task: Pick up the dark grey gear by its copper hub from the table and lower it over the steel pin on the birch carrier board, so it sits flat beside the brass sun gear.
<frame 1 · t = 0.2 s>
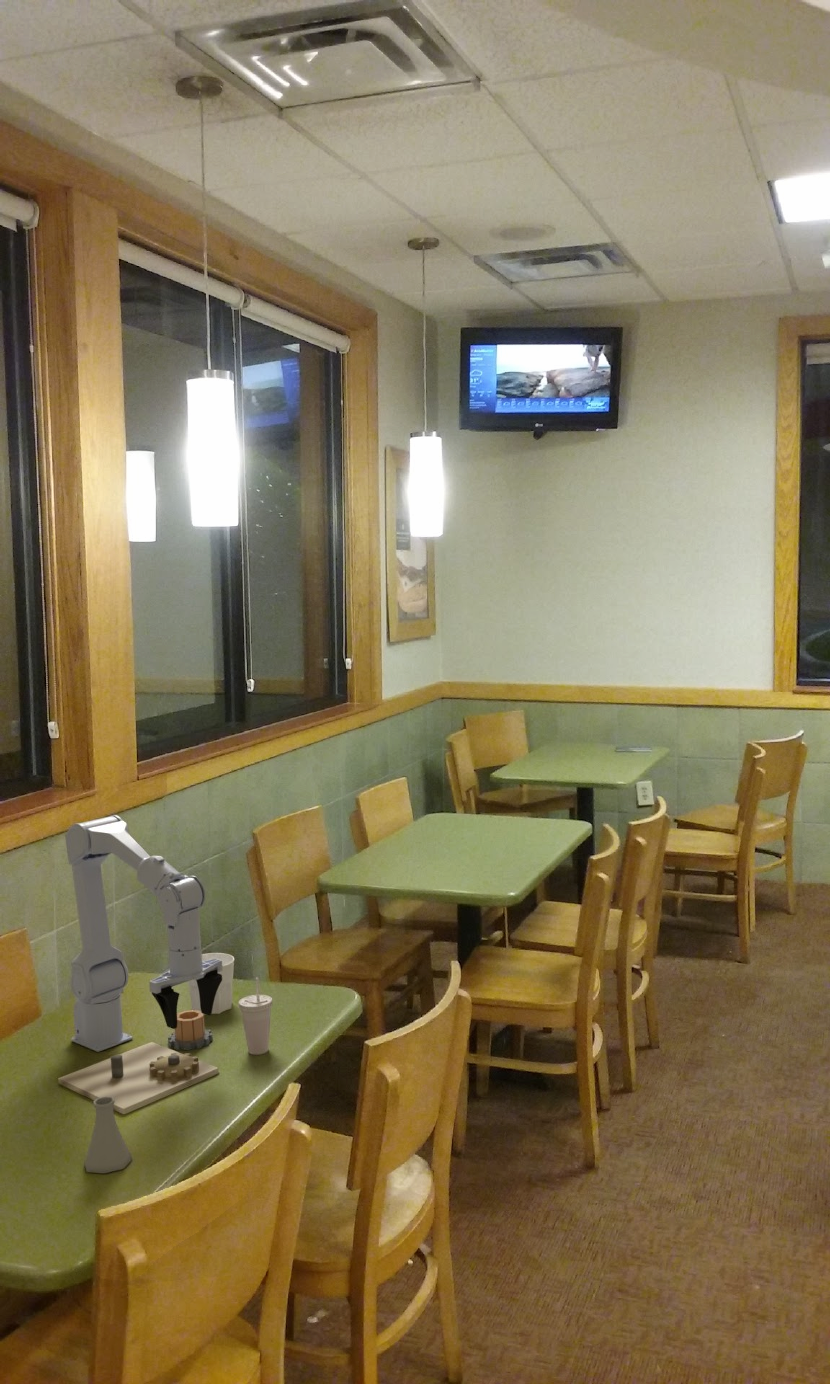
hand: (189, 1020, 211), 10 cm above the table, tool pointing down, fingers open, 7 cm apart
carrier: (139, 1078, 211), on the table
planet gear: (190, 1041, 227), on the table
cup: (212, 1008, 245), on the table
flask: (108, 1164, 181), on the table
smoothie: (258, 1051, 221), on the table
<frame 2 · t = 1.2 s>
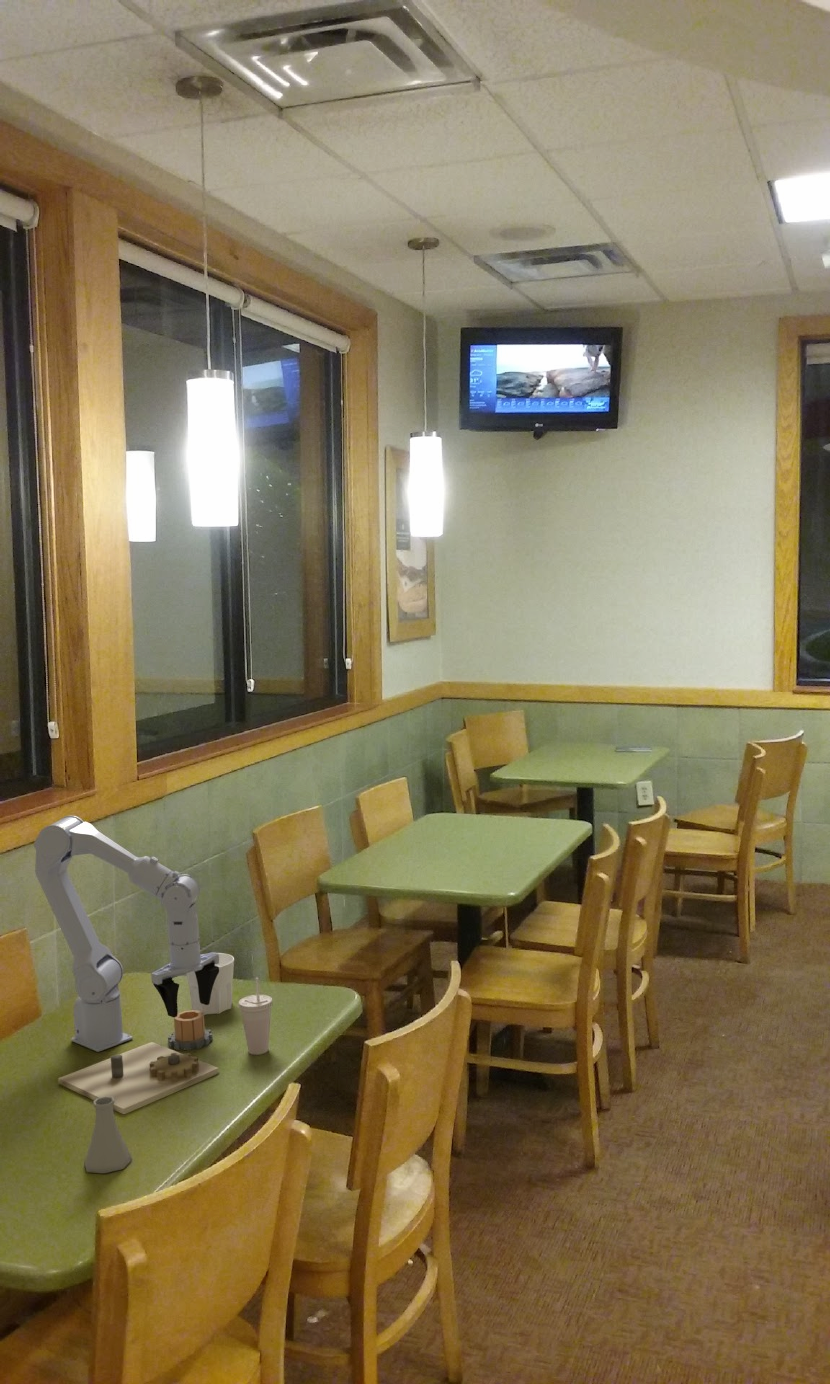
hand: (188, 1009, 226), 6 cm above the table, tool pointing down, fingers open, 7 cm apart
nothing on the table moved.
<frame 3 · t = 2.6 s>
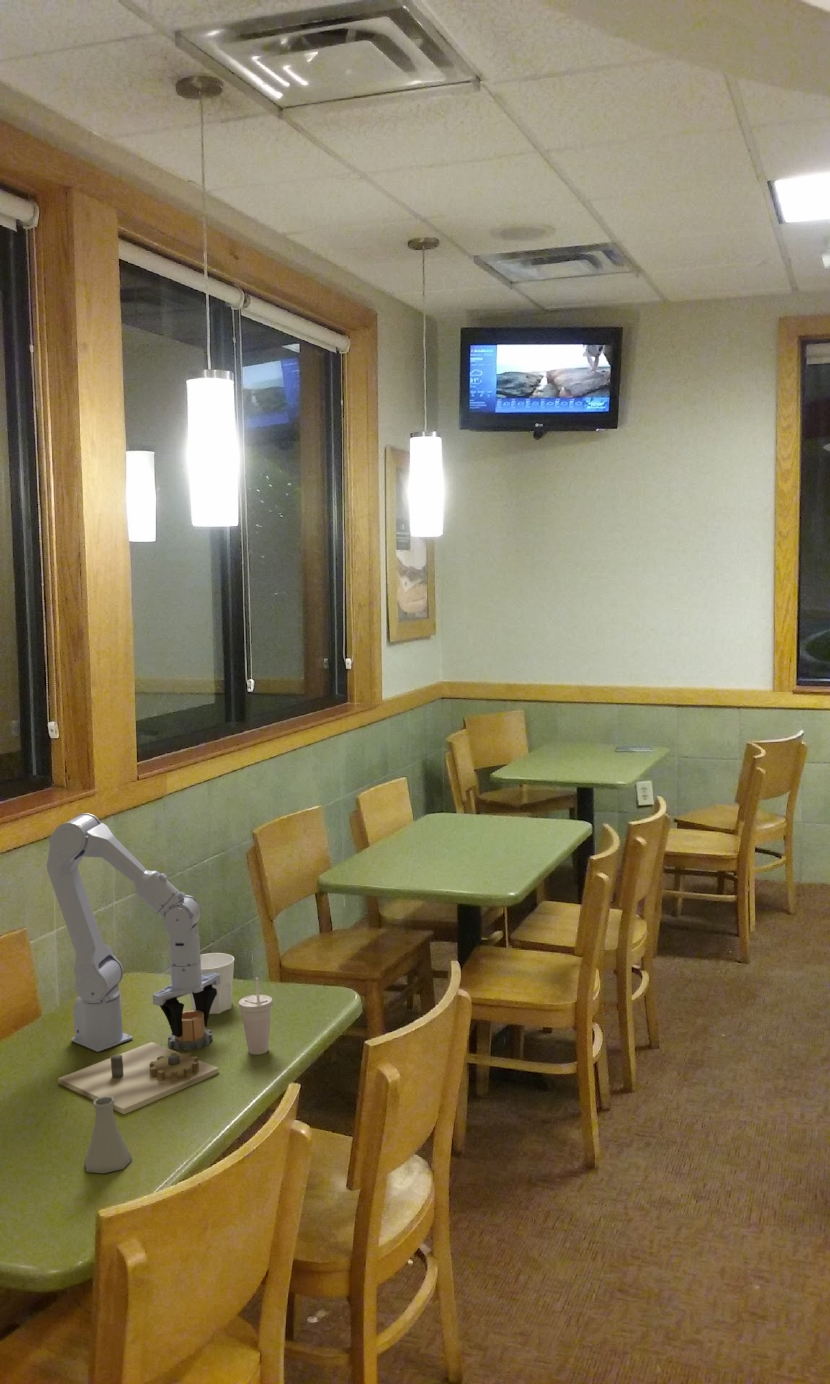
hand: (189, 1030, 227), 2 cm above the table, tool pointing down, fingers closed on planet gear, 5 cm apart
planet gear: (190, 1041, 227), on the table, touching gripper
everything else where it was.
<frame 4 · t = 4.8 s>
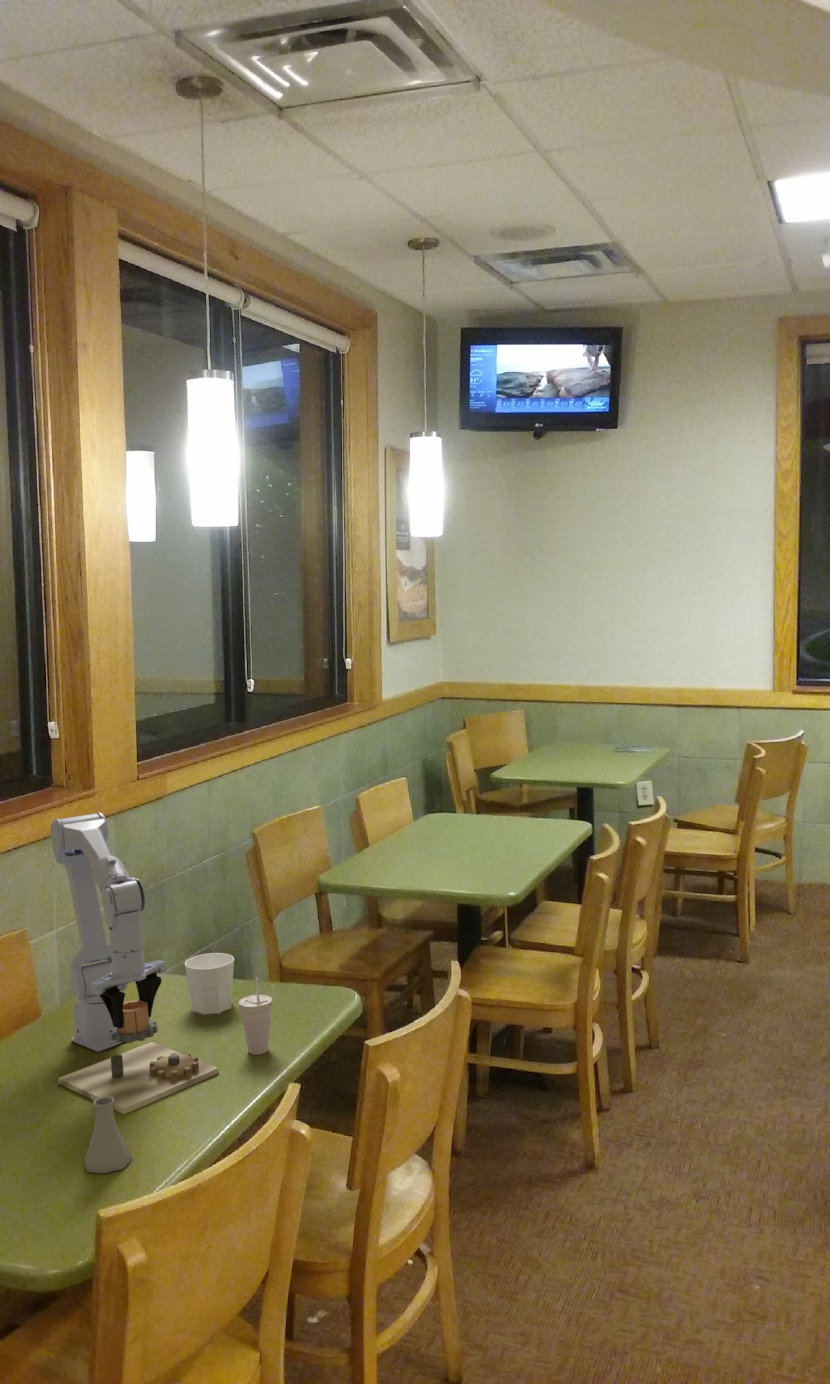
hand: (132, 1021, 213), 9 cm above the table, tool pointing down, fingers closed on planet gear, 5 cm apart
planet gear: (133, 1033, 213), point 7 cm above the table, touching gripper
everything else where it was.
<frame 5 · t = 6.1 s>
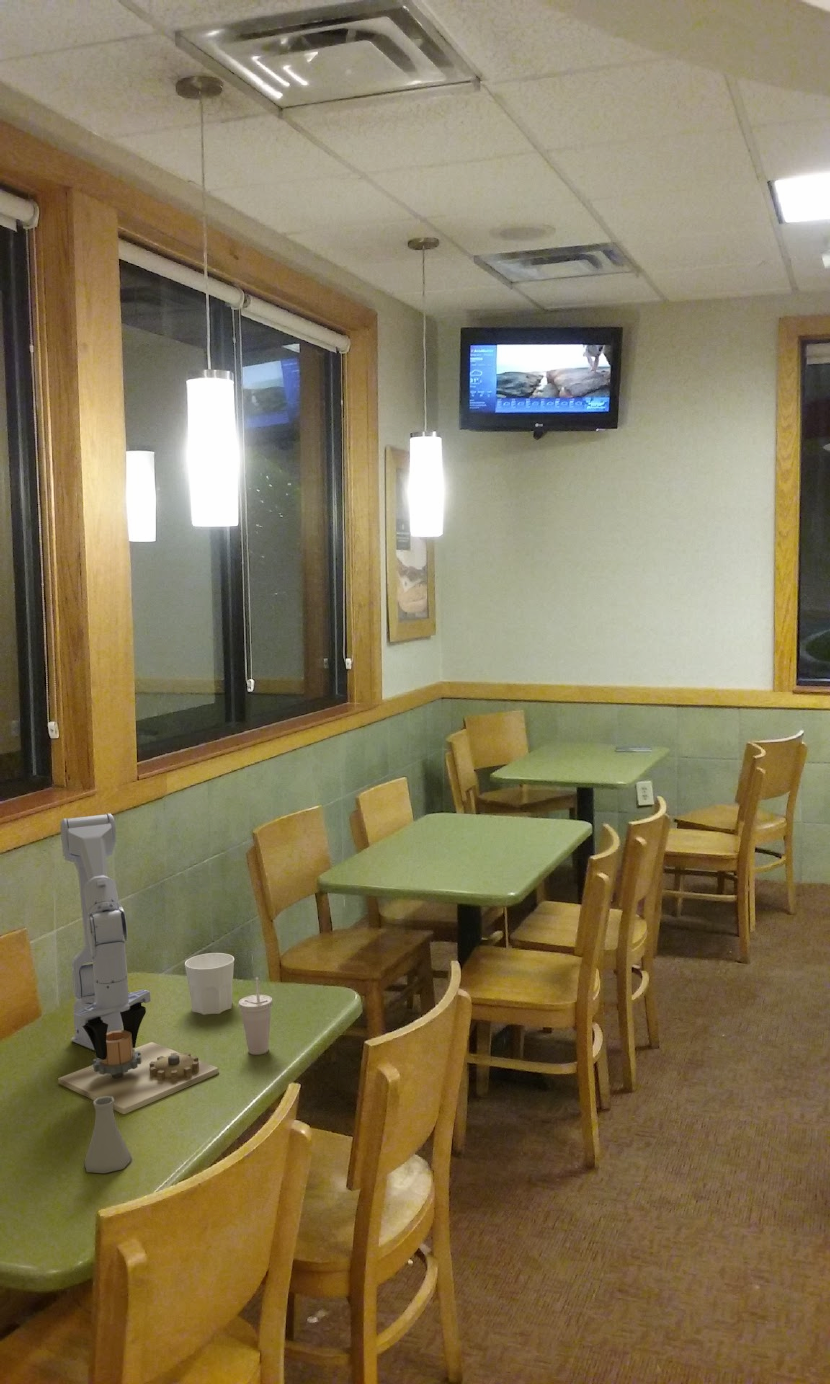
hand: (116, 1052, 210), 5 cm above the table, tool pointing down, fingers closed on planet gear, 5 cm apart
planet gear: (117, 1064, 210), point 3 cm above the table, touching gripper
everything else where it was.
when the fingers open (5 cm above the table, at t = 7.2 s): planet gear drops 2 cm, resting on carrier.
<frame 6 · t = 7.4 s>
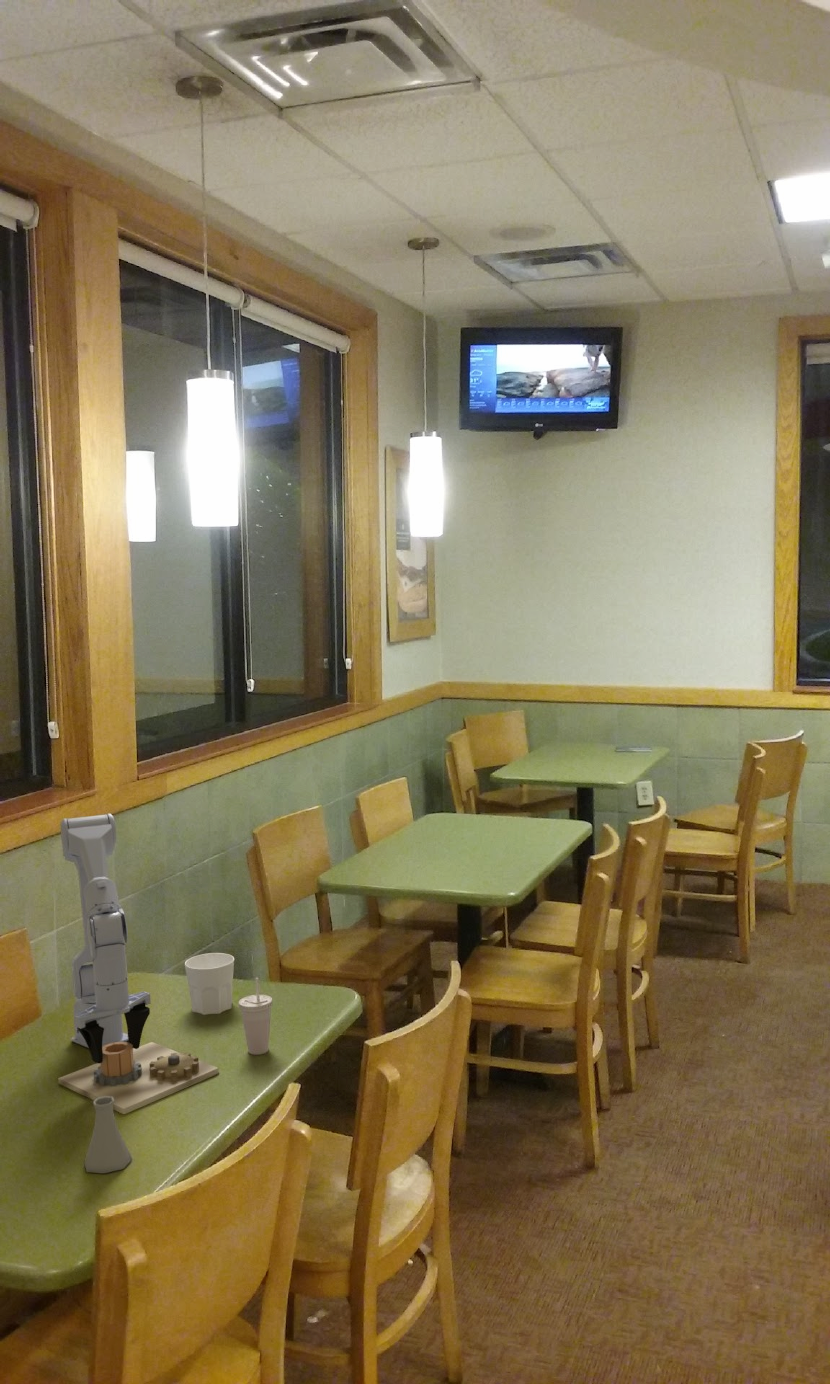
hand: (116, 1054, 210), 5 cm above the table, tool pointing down, fingers open, 7 cm apart
planet gear: (118, 1076, 210), point 1 cm above the table, touching carrier
everything else where it was.
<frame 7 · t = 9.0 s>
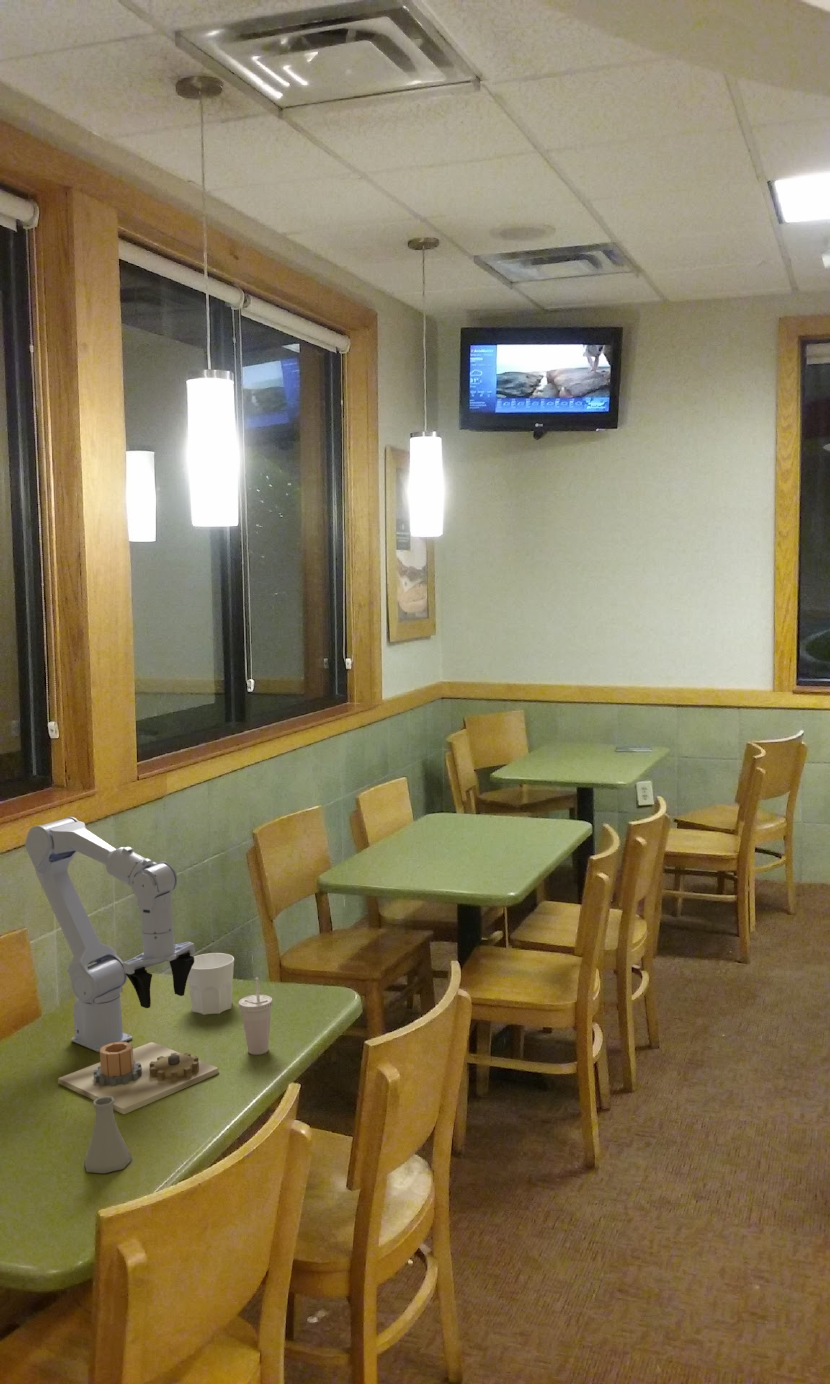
hand: (162, 1000, 220), 10 cm above the table, tool pointing down, fingers open, 7 cm apart
nothing on the table moved.
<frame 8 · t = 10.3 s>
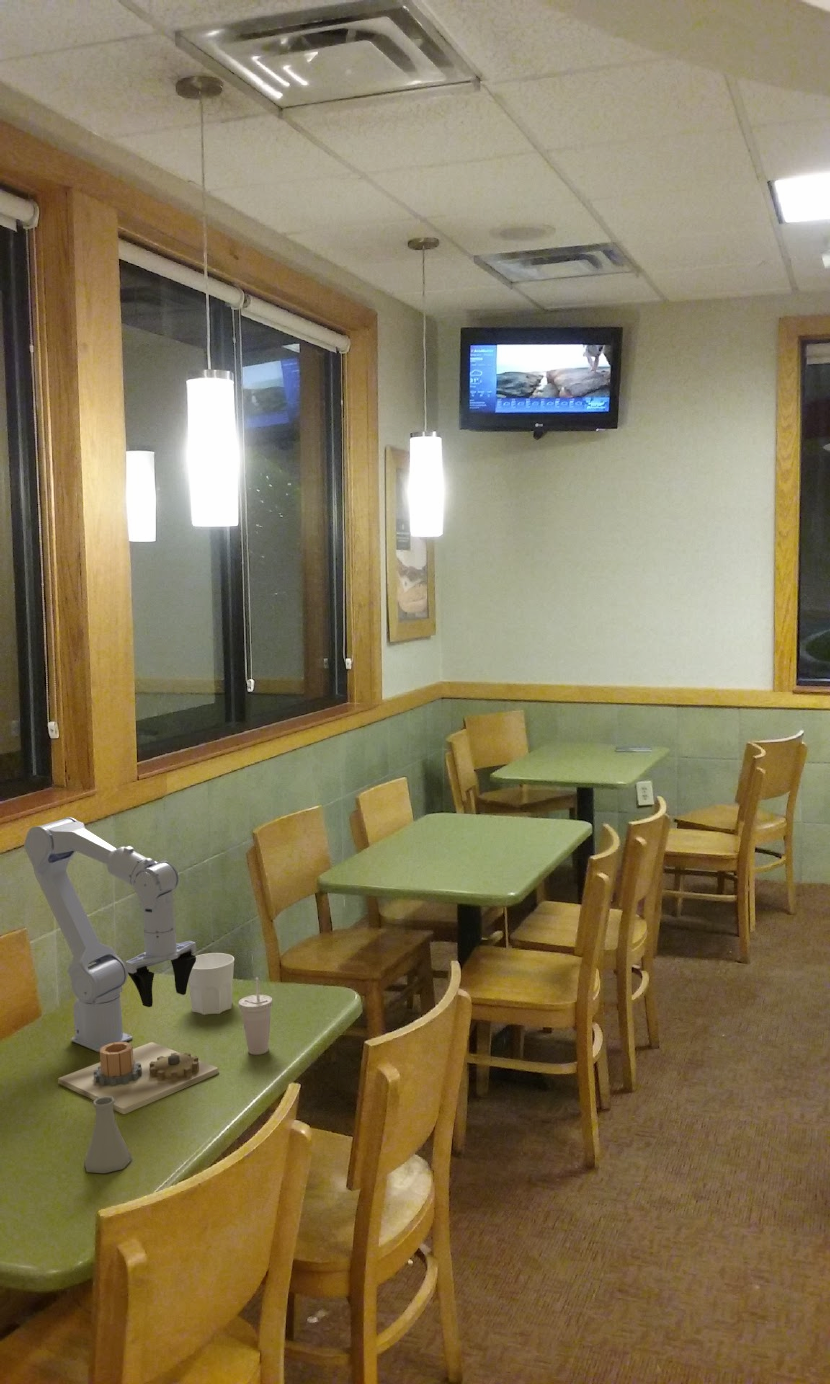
hand: (164, 999, 221), 10 cm above the table, tool pointing down, fingers open, 7 cm apart
nothing on the table moved.
at the end: planet gear 0.1 cm from the target spot, point 1.0 cm above the table; planet gear tilted 0°; the gripper is holding nothing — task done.
